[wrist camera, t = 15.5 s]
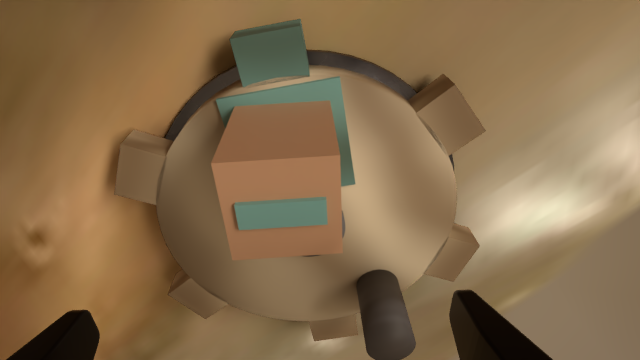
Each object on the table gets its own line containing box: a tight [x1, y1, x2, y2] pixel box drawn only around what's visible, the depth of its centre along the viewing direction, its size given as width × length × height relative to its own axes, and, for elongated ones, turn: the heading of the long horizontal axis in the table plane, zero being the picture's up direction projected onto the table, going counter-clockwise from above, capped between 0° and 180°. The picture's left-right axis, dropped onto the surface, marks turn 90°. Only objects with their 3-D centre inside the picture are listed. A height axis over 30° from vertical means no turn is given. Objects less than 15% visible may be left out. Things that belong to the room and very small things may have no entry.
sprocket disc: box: [114, 19, 486, 360], centre depth 19 cm, size 19×18×6 cm
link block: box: [211, 100, 343, 260], centre depth 15 cm, size 4×4×5 cm
